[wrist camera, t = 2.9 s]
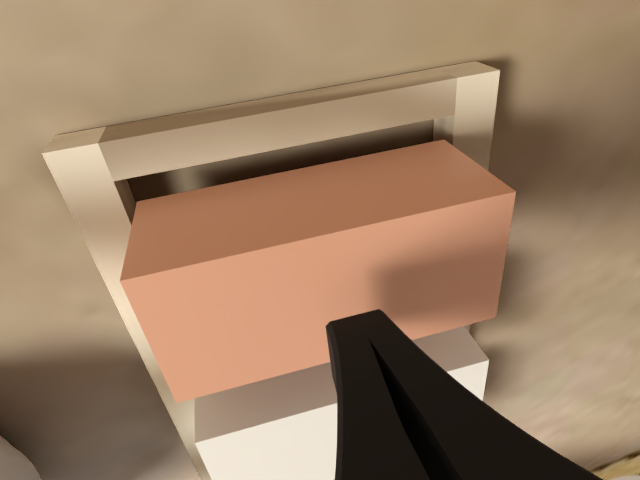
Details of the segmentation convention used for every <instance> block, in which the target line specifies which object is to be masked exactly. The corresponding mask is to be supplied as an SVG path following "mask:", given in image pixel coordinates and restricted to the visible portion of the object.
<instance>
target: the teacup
mask: <svg viewBox="0 0 640 480" xmlns="http://www.w3.org/2000/svg"><path fill="white" fill-rule="evenodd" d="M0 480H41V478H40V475H39V473H38V472H37V470H36V469H35V467H34V465H33V464H32V463H31V462H30V461H29V460H28V458H27V457H26V456H25V455H24V454H22V453H21V452H20V451H19V450H17V449H16V448H14V447H13V446H11V445H10V443H9V442H8V441H7V440H6V439H4V438H3V437H1V436H0Z"/></svg>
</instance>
